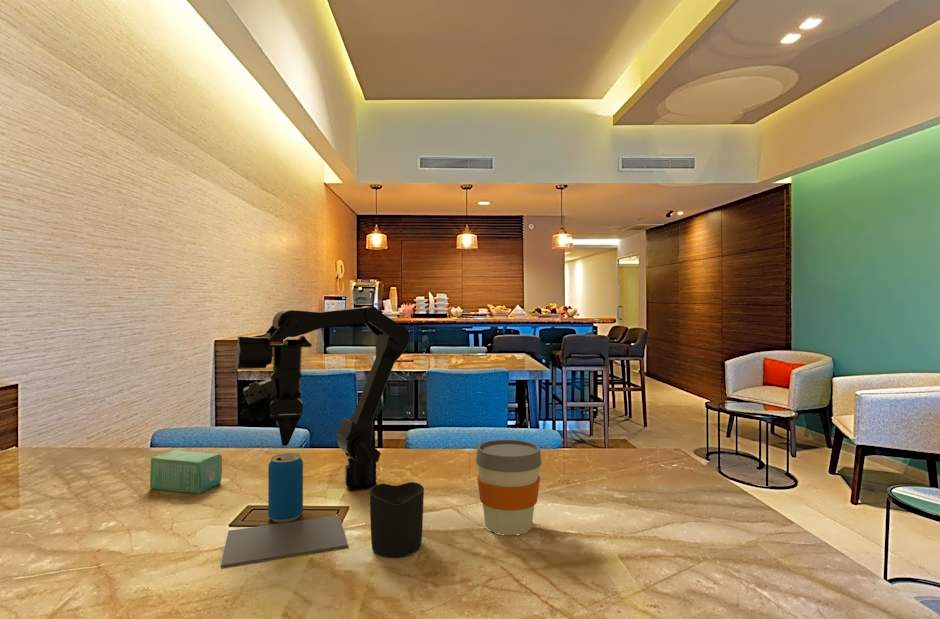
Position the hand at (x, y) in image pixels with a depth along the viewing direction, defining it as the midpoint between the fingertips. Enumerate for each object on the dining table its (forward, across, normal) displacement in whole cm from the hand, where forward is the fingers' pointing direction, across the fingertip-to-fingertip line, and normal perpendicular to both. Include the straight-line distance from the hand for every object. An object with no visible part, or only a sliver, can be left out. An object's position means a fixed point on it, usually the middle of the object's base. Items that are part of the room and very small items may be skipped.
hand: (284, 440), depth 109 cm
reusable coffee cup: (+12, +28, +41) cm, 51 cm away
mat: (+13, +20, +1) cm, 24 cm away
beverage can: (+13, +9, +1) cm, 16 cm away
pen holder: (+13, +29, +19) cm, 37 cm away
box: (+14, -18, -21) cm, 31 cm away
